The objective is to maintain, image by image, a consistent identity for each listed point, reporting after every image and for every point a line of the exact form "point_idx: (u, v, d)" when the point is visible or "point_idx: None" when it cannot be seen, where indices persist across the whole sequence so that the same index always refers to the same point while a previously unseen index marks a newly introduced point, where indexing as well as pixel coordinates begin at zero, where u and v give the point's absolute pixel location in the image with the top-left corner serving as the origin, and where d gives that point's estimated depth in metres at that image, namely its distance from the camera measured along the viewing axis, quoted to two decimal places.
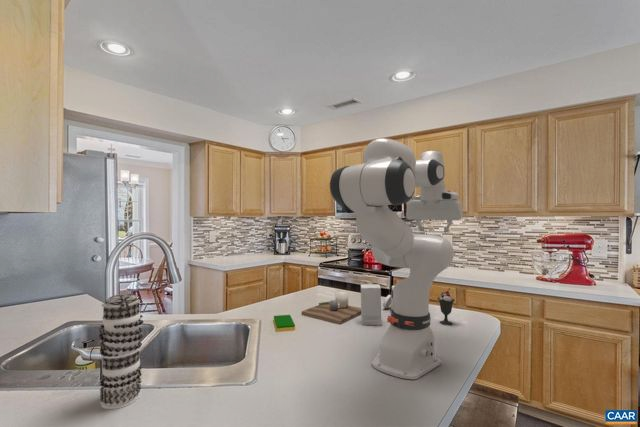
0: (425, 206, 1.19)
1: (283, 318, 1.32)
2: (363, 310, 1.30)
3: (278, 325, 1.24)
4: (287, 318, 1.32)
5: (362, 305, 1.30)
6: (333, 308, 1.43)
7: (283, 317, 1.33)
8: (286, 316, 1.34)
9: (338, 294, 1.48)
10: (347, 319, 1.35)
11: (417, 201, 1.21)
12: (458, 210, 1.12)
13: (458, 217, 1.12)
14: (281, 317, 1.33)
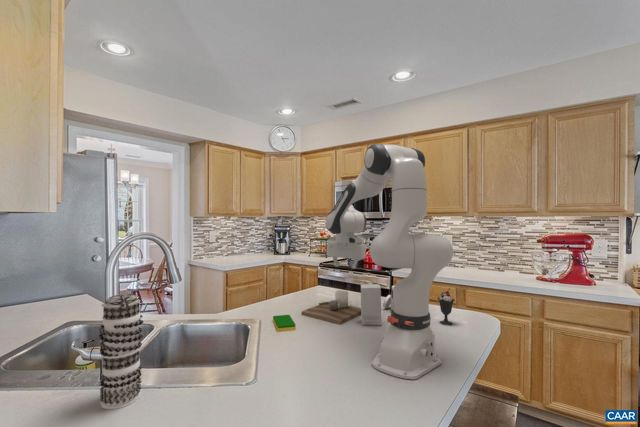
0: (339, 247, 1.52)
1: (283, 318, 1.32)
2: (363, 310, 1.30)
3: (279, 325, 1.24)
4: (287, 318, 1.32)
5: (362, 305, 1.30)
6: (333, 308, 1.43)
7: (283, 317, 1.33)
8: (285, 316, 1.34)
9: (338, 294, 1.48)
10: (347, 319, 1.35)
11: (334, 242, 1.53)
12: (360, 252, 1.44)
13: (360, 257, 1.44)
14: (280, 317, 1.33)
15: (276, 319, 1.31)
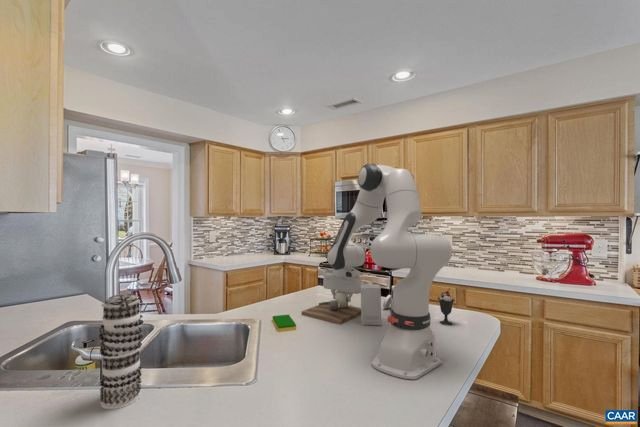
0: (335, 279, 1.51)
1: (283, 318, 1.32)
2: (363, 310, 1.30)
3: (279, 325, 1.23)
4: (287, 318, 1.32)
5: (362, 305, 1.30)
6: (333, 308, 1.43)
7: (282, 317, 1.33)
8: (285, 316, 1.34)
9: (338, 294, 1.48)
10: (347, 319, 1.35)
11: (330, 274, 1.52)
12: (356, 286, 1.43)
13: (356, 292, 1.43)
14: (280, 317, 1.33)
15: (276, 319, 1.30)
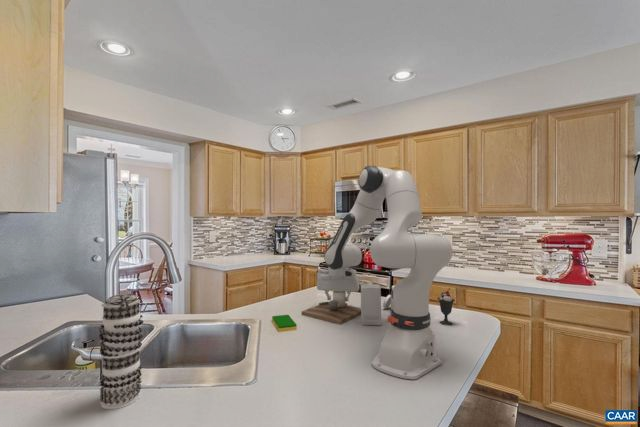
0: (332, 280, 1.50)
1: (282, 318, 1.32)
2: (363, 310, 1.30)
3: (280, 325, 1.23)
4: (286, 318, 1.32)
5: (362, 305, 1.30)
6: (334, 308, 1.43)
7: (282, 317, 1.33)
8: (285, 316, 1.34)
9: (337, 294, 1.48)
10: (347, 319, 1.35)
11: (326, 275, 1.51)
12: (356, 285, 1.46)
13: (356, 290, 1.47)
14: (280, 317, 1.33)
15: (276, 319, 1.30)
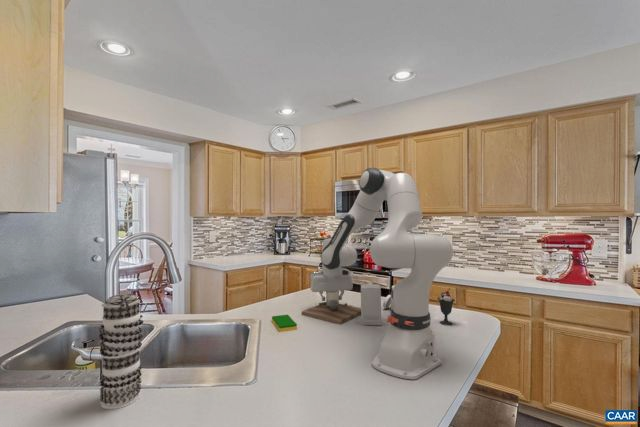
0: (327, 280, 1.50)
1: (282, 318, 1.32)
2: (363, 310, 1.30)
3: (280, 325, 1.23)
4: (286, 318, 1.32)
5: (362, 305, 1.30)
6: (336, 308, 1.44)
7: (282, 317, 1.33)
8: (284, 316, 1.34)
9: (333, 294, 1.49)
10: (347, 319, 1.35)
11: (321, 276, 1.49)
12: (352, 282, 1.51)
13: (351, 288, 1.52)
14: (280, 317, 1.33)
15: (276, 319, 1.30)
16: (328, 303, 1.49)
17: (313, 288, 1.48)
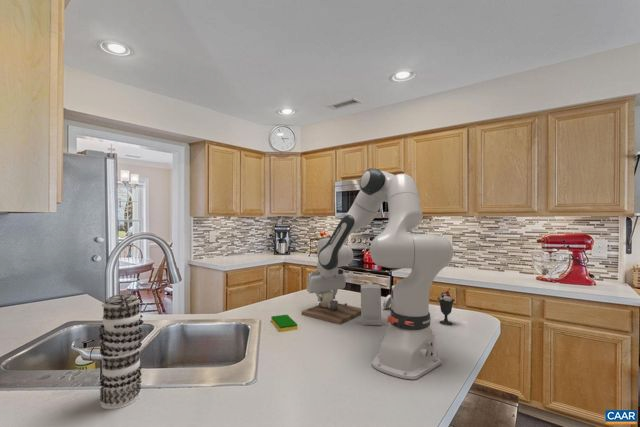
0: (324, 280, 1.48)
1: (282, 318, 1.32)
2: (363, 310, 1.30)
3: (281, 325, 1.23)
4: (286, 318, 1.32)
5: (362, 305, 1.30)
6: (337, 307, 1.44)
7: (282, 317, 1.33)
8: (284, 316, 1.34)
9: (330, 294, 1.48)
10: (347, 319, 1.35)
11: (319, 277, 1.47)
12: (345, 281, 1.54)
13: (344, 286, 1.54)
14: (279, 317, 1.33)
15: (276, 319, 1.30)
16: (325, 304, 1.48)
17: (312, 289, 1.44)
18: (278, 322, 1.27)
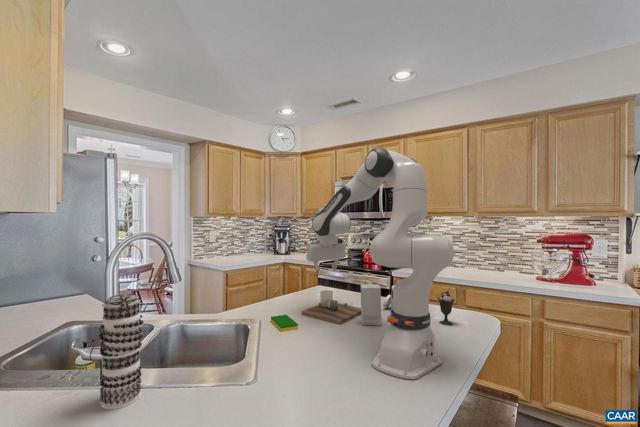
0: (323, 249, 1.48)
1: (282, 318, 1.32)
2: (363, 310, 1.30)
3: (281, 325, 1.23)
4: (286, 318, 1.32)
5: (362, 305, 1.30)
6: (337, 307, 1.44)
7: (281, 317, 1.33)
8: (283, 316, 1.34)
9: (330, 294, 1.48)
10: (347, 319, 1.35)
11: (318, 245, 1.46)
12: (344, 251, 1.54)
13: (344, 256, 1.54)
14: (279, 318, 1.33)
15: (276, 319, 1.30)
16: (325, 304, 1.48)
17: (311, 257, 1.44)
18: (278, 322, 1.27)
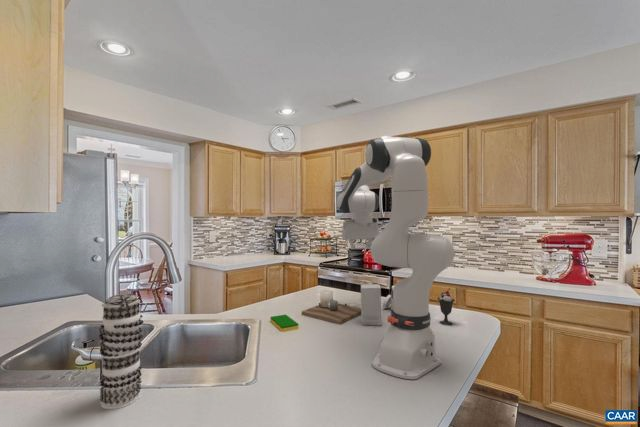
0: (359, 228, 1.49)
1: (282, 318, 1.32)
2: (363, 310, 1.30)
3: (282, 325, 1.23)
4: (286, 318, 1.32)
5: (362, 305, 1.30)
6: (337, 307, 1.44)
7: (281, 317, 1.33)
8: (283, 316, 1.34)
9: (330, 294, 1.48)
10: (347, 319, 1.35)
11: (354, 224, 1.47)
12: (378, 231, 1.55)
13: None
14: (279, 318, 1.32)
15: (276, 320, 1.30)
16: (325, 304, 1.48)
17: (347, 235, 1.45)
18: (279, 322, 1.27)
